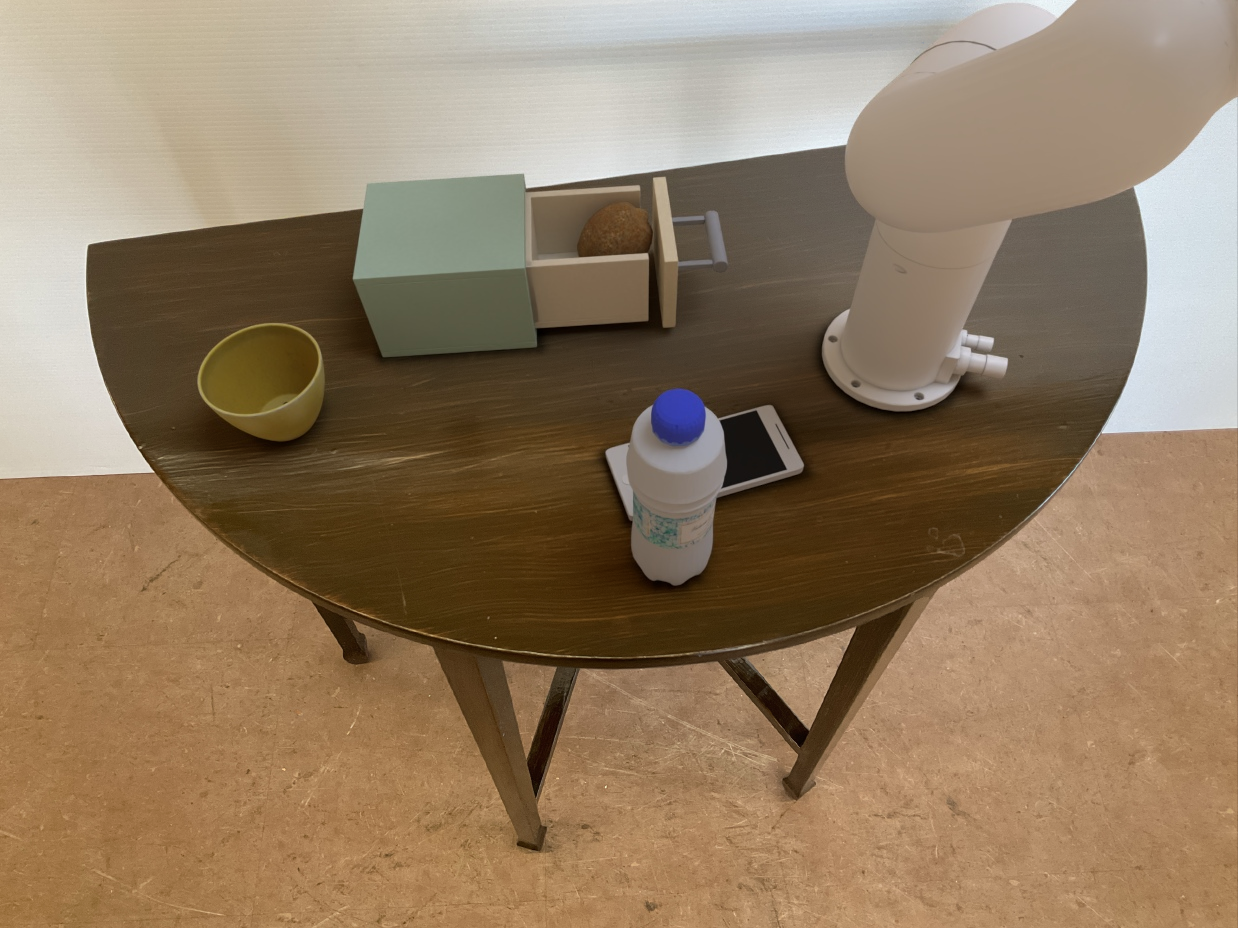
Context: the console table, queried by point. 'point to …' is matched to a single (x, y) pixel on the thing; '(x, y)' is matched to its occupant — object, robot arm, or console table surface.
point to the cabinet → (445, 265)
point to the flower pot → (265, 380)
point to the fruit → (616, 232)
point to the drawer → (604, 259)
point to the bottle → (675, 485)
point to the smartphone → (734, 454)
